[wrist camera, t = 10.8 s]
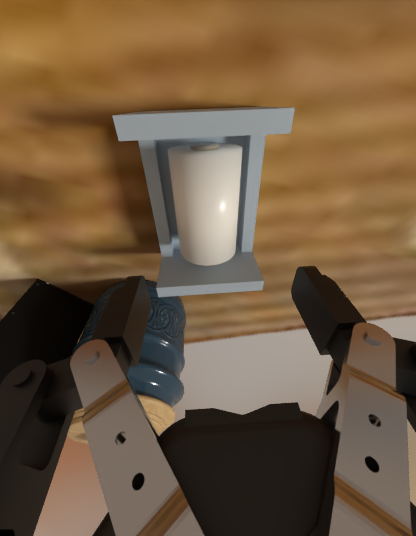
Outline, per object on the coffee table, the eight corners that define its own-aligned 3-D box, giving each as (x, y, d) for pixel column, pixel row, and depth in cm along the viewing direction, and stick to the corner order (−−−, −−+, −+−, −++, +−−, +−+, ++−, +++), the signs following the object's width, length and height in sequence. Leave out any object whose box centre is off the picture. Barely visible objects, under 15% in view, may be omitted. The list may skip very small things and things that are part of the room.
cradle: (259, 106, 17) (294, 107, 12) (246, 248, 26) (262, 290, 20) (139, 111, 17) (112, 115, 11) (165, 253, 26) (158, 297, 20)
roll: (153, 145, 16) (197, 155, 13) (209, 138, 19) (258, 144, 15) (170, 249, 22) (203, 275, 18) (211, 231, 25) (247, 252, 21)
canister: (202, 312, 33) (211, 462, 19) (144, 343, 37) (117, 484, 24) (140, 261, 26) (85, 435, 12) (78, 305, 31) (-16, 474, 17)
